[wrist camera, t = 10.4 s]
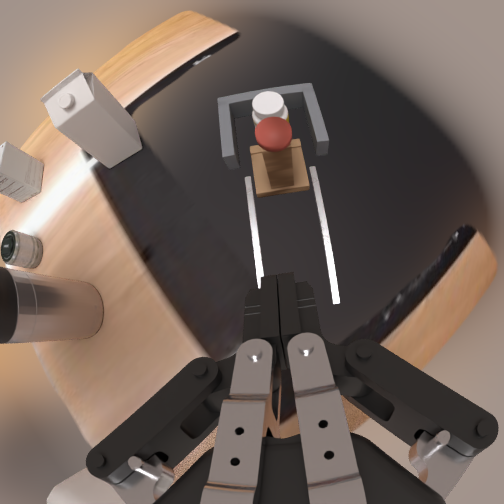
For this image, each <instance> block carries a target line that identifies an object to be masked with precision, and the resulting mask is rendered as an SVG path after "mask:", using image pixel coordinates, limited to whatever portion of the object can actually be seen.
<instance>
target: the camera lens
mask: <svg viewBox="0 0 504 504" xmlns="http://www.w3.org/2000/svg"><path fill="white" fill-rule="evenodd" d="M42 254H43V248H42V243H41V242H40V241H39V240H38V239H37V238H35V237H33V236H30V235H27V234H24V233H21V232H18V231H15V230H11V231H9V232H7V234H6V235H5V236H4V238H3V241H2V245H1V256H2V259H3V261H4V262H5V263H6V264H9V265H14V266H19V267H24V268H34V267H37V266H38V265H39V263H40V261H41V259H42Z"/></svg>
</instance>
